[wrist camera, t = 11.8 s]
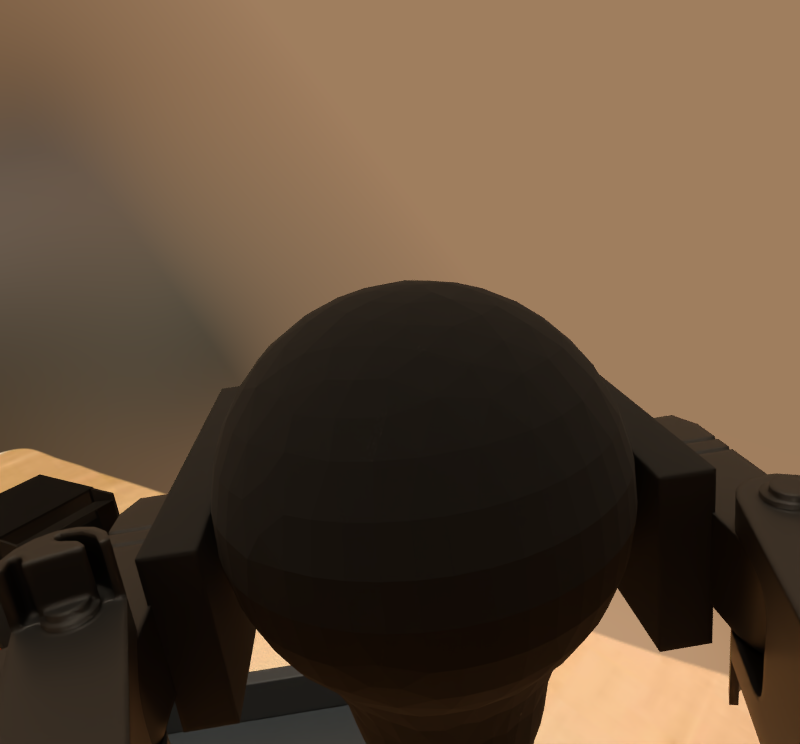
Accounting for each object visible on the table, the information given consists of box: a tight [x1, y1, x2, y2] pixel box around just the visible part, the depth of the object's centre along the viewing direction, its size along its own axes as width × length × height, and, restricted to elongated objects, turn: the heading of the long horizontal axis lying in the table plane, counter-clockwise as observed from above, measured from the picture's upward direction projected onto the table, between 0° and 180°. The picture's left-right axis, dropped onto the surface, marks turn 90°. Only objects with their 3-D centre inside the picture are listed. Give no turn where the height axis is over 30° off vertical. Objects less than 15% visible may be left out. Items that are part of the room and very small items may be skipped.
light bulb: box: [211, 280, 638, 744], centre depth 10 cm, size 6×6×10 cm
